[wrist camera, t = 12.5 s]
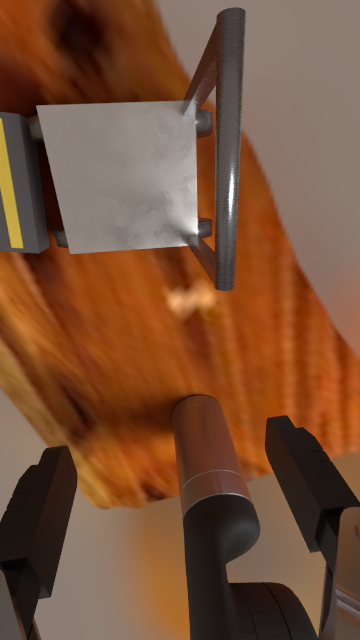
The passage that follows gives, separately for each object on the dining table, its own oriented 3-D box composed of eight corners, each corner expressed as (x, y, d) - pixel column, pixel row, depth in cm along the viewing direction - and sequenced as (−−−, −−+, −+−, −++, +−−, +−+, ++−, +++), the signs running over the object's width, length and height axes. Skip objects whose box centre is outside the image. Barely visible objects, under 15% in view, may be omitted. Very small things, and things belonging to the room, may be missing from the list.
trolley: (206, 119, 30) (307, 7, 11) (206, 231, 36) (275, 286, 16) (39, 125, 29) (-174, 11, 10) (65, 240, 34) (-38, 313, 15)
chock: (-10, 117, 29) (-34, 107, 25) (34, 122, 29) (18, 113, 25) (13, 244, 34) (-4, 251, 31) (50, 246, 35) (38, 253, 31)
